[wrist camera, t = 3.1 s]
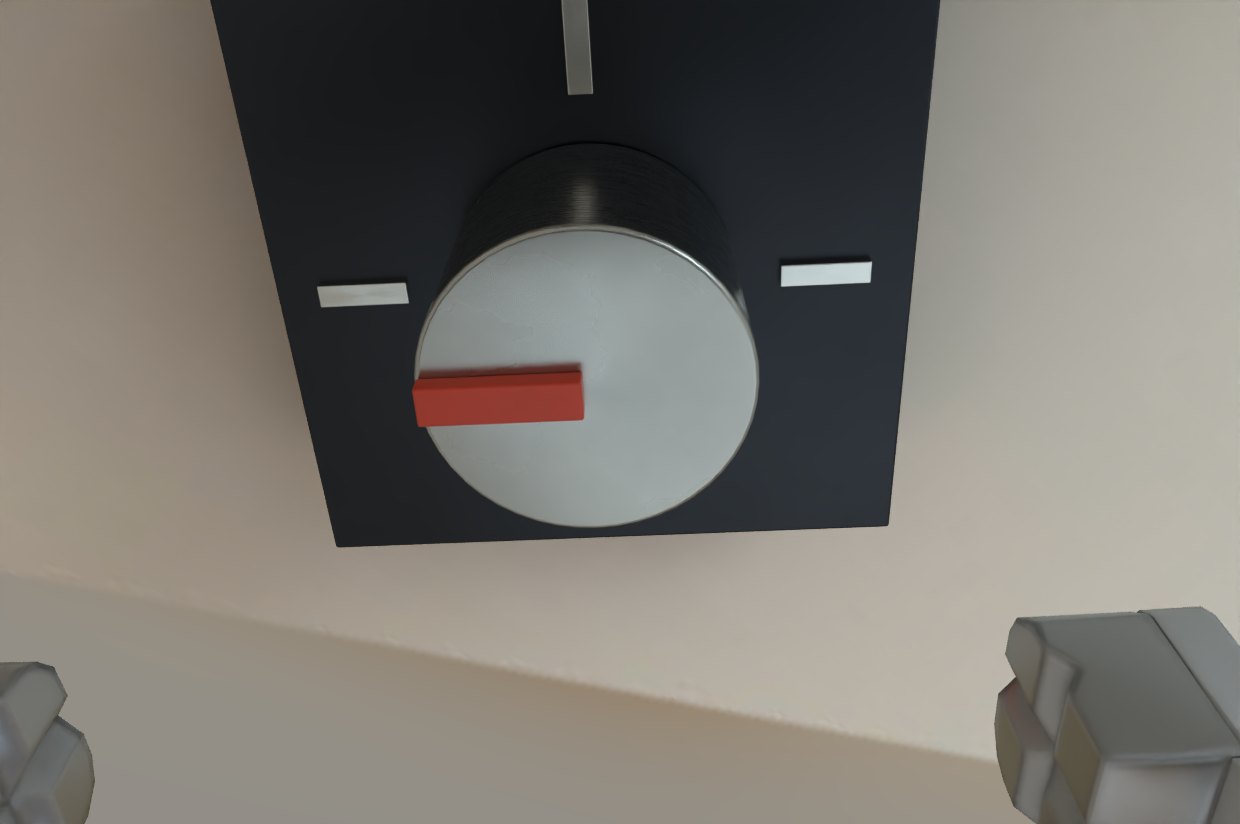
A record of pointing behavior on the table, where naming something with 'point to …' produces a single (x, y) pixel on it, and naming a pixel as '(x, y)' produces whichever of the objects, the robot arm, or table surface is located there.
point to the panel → (591, 114)
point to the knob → (588, 341)
